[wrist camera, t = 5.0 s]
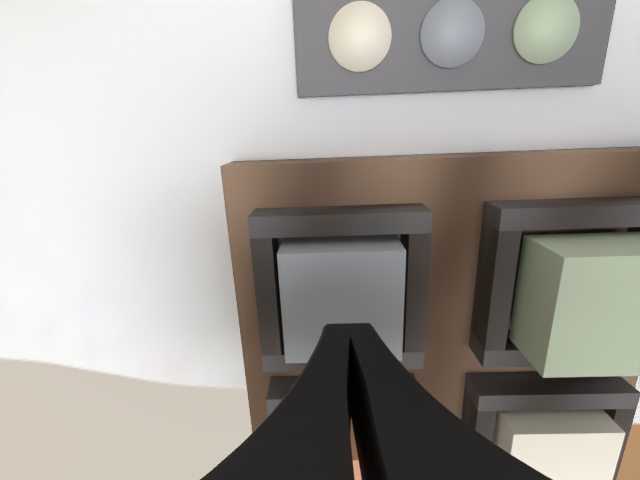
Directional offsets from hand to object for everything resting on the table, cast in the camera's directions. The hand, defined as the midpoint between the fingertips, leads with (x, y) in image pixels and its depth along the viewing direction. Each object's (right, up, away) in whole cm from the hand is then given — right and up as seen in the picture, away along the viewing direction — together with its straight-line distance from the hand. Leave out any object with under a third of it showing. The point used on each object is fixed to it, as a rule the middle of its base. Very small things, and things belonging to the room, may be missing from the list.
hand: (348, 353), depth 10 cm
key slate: (0, +1, +5) cm, 5 cm away
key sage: (+9, +1, +4) cm, 10 cm away
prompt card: (+4, +11, +4) cm, 13 cm away
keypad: (+5, -2, +8) cm, 9 cm away
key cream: (+9, -6, +7) cm, 13 cm away
